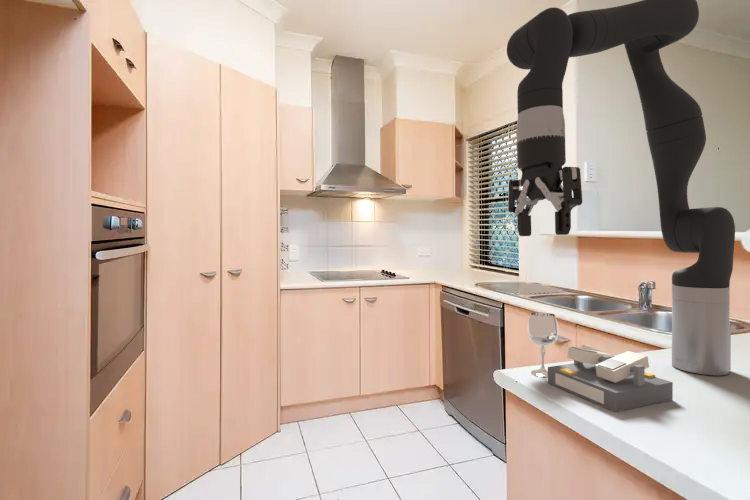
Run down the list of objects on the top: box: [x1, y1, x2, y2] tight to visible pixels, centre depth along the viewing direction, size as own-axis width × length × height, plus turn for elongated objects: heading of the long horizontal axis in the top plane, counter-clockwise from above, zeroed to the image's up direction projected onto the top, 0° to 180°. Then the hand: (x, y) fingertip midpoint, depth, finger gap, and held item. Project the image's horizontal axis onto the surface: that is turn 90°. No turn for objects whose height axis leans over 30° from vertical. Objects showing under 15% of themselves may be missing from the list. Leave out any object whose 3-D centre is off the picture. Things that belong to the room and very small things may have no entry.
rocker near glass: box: [566, 346, 616, 364], centre depth 73 cm, size 8×4×2 cm, turn 110°
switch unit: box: [547, 346, 674, 413], centre depth 70 cm, size 13×14×6 cm
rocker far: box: [595, 350, 650, 383], centre depth 68 cm, size 8×4×2 cm, turn 110°
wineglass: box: [526, 312, 559, 378], centre depth 80 cm, size 6×6×12 cm
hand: (542, 235), depth 67 cm, fingers open, 8 cm apart
